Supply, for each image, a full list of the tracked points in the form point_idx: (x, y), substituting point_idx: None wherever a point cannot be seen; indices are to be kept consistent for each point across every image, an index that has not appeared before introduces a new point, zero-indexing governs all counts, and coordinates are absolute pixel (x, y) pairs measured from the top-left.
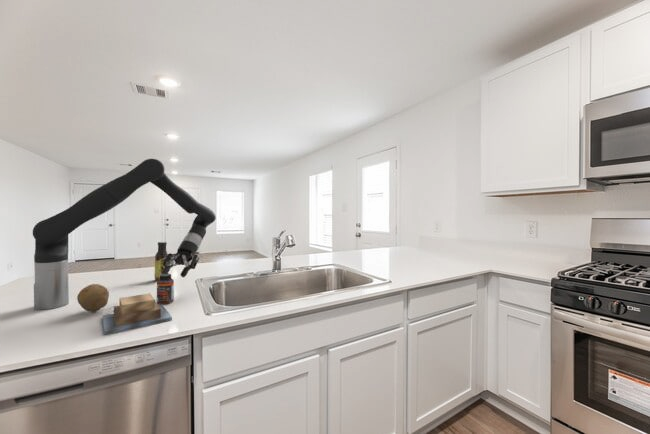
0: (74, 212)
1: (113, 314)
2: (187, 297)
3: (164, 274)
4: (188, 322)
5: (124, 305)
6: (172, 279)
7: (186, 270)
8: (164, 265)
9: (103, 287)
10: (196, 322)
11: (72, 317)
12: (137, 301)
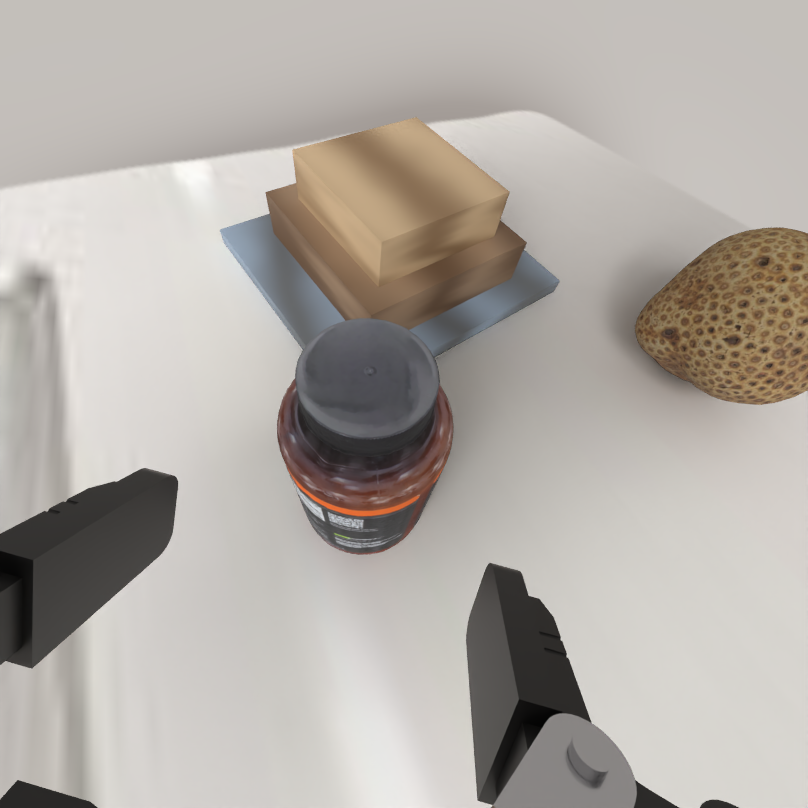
0: None
1: (519, 285)
2: (210, 633)
3: (385, 375)
4: (140, 213)
5: (408, 123)
6: (291, 438)
7: (24, 525)
8: (664, 805)
9: (759, 287)
10: (102, 209)
11: None
12: (373, 142)
